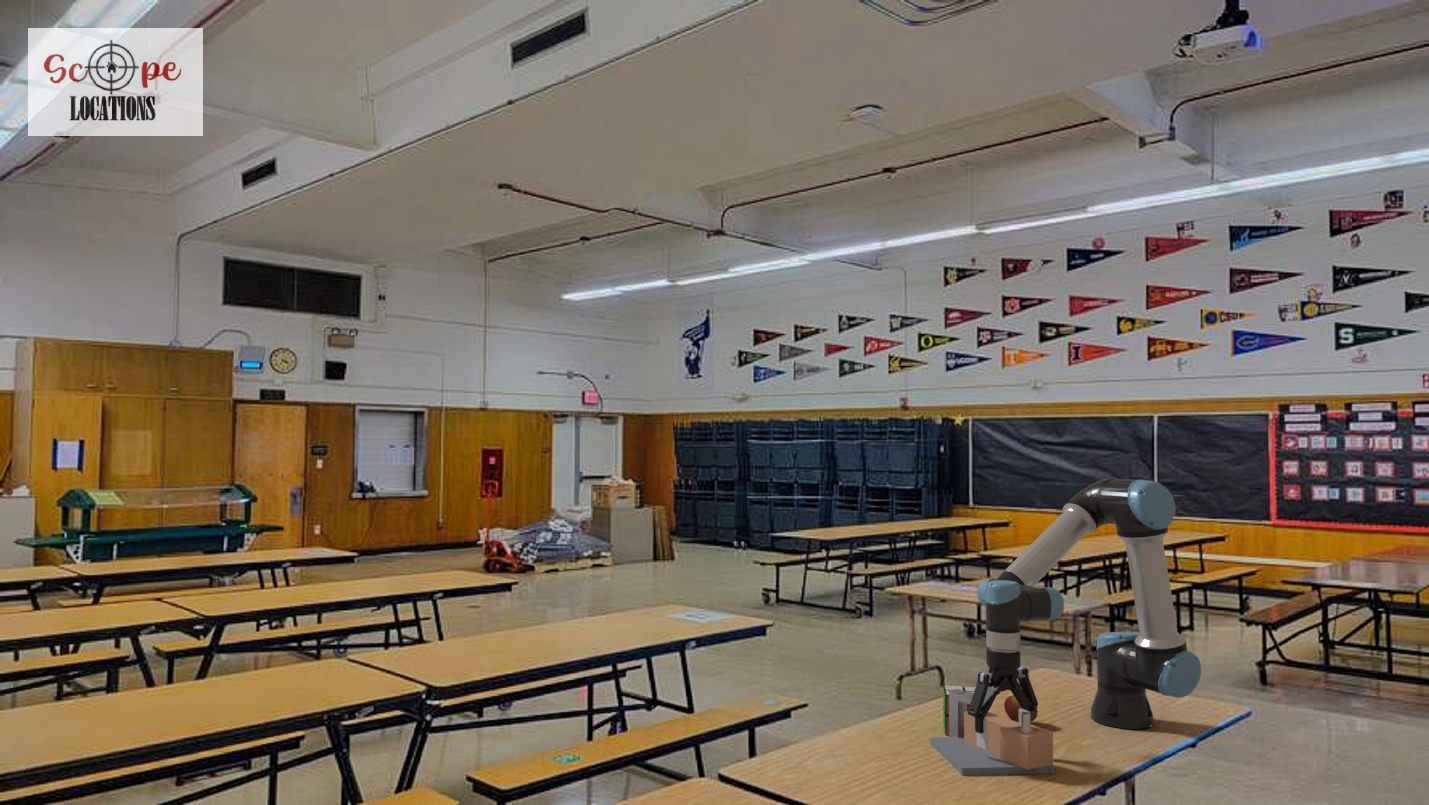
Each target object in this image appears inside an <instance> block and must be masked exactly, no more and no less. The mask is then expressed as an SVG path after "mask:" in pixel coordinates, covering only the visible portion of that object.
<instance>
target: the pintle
mask: <svg viewBox="0 0 1429 805" xmlns="http://www.w3.org/2000/svg"><path fill="white" fill-rule="evenodd" d="M1031 723H1032V721H1031V718H1030V713H1028V712H1021V732H1023V733H1026V734H1028V733H1031V725H1032V724H1031Z"/></svg>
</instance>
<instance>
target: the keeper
mask: <svg viewBox="0 0 1429 805" xmlns="http://www.w3.org/2000/svg"><path fill="white" fill-rule="evenodd" d="M973 694H974V693H971V692H966V691H963V690H960V689H954V690H949V736H948V737H964V712H965V711H967V704H970V703H971V700H972V697H973Z"/></svg>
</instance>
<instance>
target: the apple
mask: <svg viewBox="0 0 1429 805" xmlns="http://www.w3.org/2000/svg"><path fill="white" fill-rule="evenodd" d="M1003 707H1004V710H1005V714H1006V715H1007V717H1008V719H1010V720H1013V721H1016V722H1018V723H1019V709H1023V708H1022V707H1021V706H1020V704H1019V703H1018V701H1017V700H1016V698H1015V696H1014V695H1013V694H1012V695H1010V696H1007V697H1006V698H1005V700H1004V704H1003ZM1037 716H1038V706H1037V707H1035V711H1031V722H1033V721H1035V720H1036V719H1037Z"/></svg>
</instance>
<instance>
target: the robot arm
mask: <svg viewBox="0 0 1429 805" xmlns="http://www.w3.org/2000/svg"><path fill="white" fill-rule="evenodd" d="M1176 510H1177V509H1176V503H1175V499H1174V496H1173V495H1172V493H1171V492H1170V490H1169V489H1168V488H1167V487H1166V486H1164V485H1163V484H1162V483H1161V482H1158V481H1155V480H1154V481H1153V480H1147V479H1134V478H1133V479H1128V478H1127V479H1126V478H1125V479H1124V478H1123V479H1122V478H1121V479H1120V478H1119V479H1118V478H1104V479H1100V480H1098V481H1096V482H1094V483H1091V484H1089V485H1087V487H1084V488H1083V489H1082V490H1080V491H1079V492H1078V493H1076V494H1075V495H1074V496H1073V497H1071V499H1069V501H1067V502H1066V503H1065V504H1064V506H1063V507H1062V513H1061V514H1060V515H1059V516H1058V517H1057V518H1056V519H1055V520H1054V521H1053V522H1052V523H1051V524H1050V525H1049V526H1048V527H1046V529H1045V530H1044V531H1043V532H1042V533H1041V534H1040V535H1039V536H1038V537H1037V538H1036V539H1035V540H1034V541H1033V542H1032V543H1031V544H1030V545H1029V546H1028V547H1027V548H1026V549H1025V550H1023V552H1022V553H1021V554H1020V555H1018V557H1017V558H1016V559H1015V560H1013V561H1012V562H1011V563H1010V565H1008V567H1006V569H1004V570H1003V572H1002V573H1000V574H999V575H998V576H997V577H995V578H994V577H993V578H991V577H990V578H984V579H983V580H982V581H980V583H979V585H978V588H977V590H976V591H977V592H976V594H977V599H978V601H979V603H980V604H981V605H982V606H983V607H985V626H986V627H985V628H986V633H985V634H986V638H985V639H986V641H985V642H986V646H987V648H986V650H985V652H986V654H985V656H986V657H985V659H986V660H985V662H986V665H987V666H988V673H987V672H982V671H979V672H978V673H977V683H976V684H975V687H976V688H975V691H974V694H973V697H972V700H971V703H970V706H969V709H968V715H971V716H974V717H975V731H976V732H977V746H979V747H982V748H984V749H988V719H986V718H985V717H986V715H987V713H988V712H989V711H990V709H991V707H992V705H993V703H994V702H995V700H996V698H997V696H998V695H1000V694H1001V693H1002V692H1006V691H1010V692H1011V694H1012V696H1013V695H1014V696H1015V698H1016V700H1017V701H1018V703H1019V704H1020V706H1021V707H1022V708H1023V709H1019V723H1021V712H1028V713H1030V718H1031V711H1035V707H1037V708H1038V706H1039V701H1038V699H1037V697H1036V693H1035V691H1034V689H1033V686H1032V683H1031V680H1030V678H1029V669H1028V668H1026V667H1023V666H1021V652H1020V650H1019V649H1021V623H1024V622H1039V621H1042V622H1043V621H1045V622H1048V621H1051V620H1056V619H1059V618H1060V617H1061V616H1062V615H1063V613H1064V610H1065V601H1064V600H1065V599H1064V598H1063V597H1064V596H1063V595H1062V594H1061V592H1060V591H1059V590H1058V589H1056V588H1055V587H1046V586H1042V587H1035V586H1036V585H1037V584H1038V582H1039V581H1040V580H1042V578H1044V577H1045V576H1046V574H1047V573H1049V572H1050V571H1051V569H1053V567H1054V566H1055V565H1056V564H1057V563H1058V562H1059V561H1061V560H1062V558H1063V557H1064V556H1066V555H1067V554H1068V552H1069V551H1071V549H1073V547H1074V546H1076V545H1077V543H1078V542H1079V541H1080V540H1081V539H1082V538H1083V537H1085V535H1086V534H1093V533H1094V532H1096V530H1098V528H1099V527H1101V526H1104V525H1115V528H1116V536H1117V537H1118V538H1120V539H1121V540H1122V541H1124V543H1125V551H1126V555H1127V562H1128V567H1129V573H1130V580H1131V588H1132V593H1133V599H1134V604H1135V611H1136V616H1137V617H1136V618H1137V623H1138V630H1139V632H1136V631H1135V632H1134V631H1111V632H1110V631H1109V632H1102V633H1100V634H1098V637H1097V642H1096V643H1097V644H1096V669H1097V671H1096V672H1097V673H1096V675H1097V677H1096V678H1097V688H1096V693H1095V695H1094V697H1093V702H1092V704H1091V707H1090V718H1091V720H1093V721H1094V722H1096V723H1098V724H1100V725H1104V726H1108V727H1113V728H1116V729H1117V728H1118V729H1124V730H1125V729H1126V730H1143V729H1142V728H1146V729H1149V728H1148V727H1150V726H1151V725H1153V723H1154V724H1155V722H1154V720H1155V719H1154V713H1153V711H1152V708H1151V705H1150V703H1149V699H1148V697H1147V690H1148V691H1151V692H1154V693H1157V694H1161V695H1162V696H1166V697H1173V698H1177V699H1181V698H1185V697H1187V696H1189V695H1190V694H1192V693H1193V691H1194V690H1195V689H1196V688H1197V685H1198V684H1199V682H1200V680H1201V674H1202V665H1201V660H1200V658H1199V657H1197V656H1196V654H1194V652H1191V651H1190V650H1188V647H1187V640H1186V638H1185V636H1183V634H1180V633H1179V632H1178V627H1177V620H1176V614H1175V608H1174V602H1173V601H1174V600H1173V596H1172V591H1171V590H1172V589H1171V584H1170V583H1171V582H1170V578H1169V577H1170V576H1169V572H1168V570H1169V569H1168V563H1167V557H1166V553H1165V547H1164V541H1163V540H1164V537H1165V536H1167V534H1168V533H1169V528H1168V527H1169V526H1171V525H1172V523H1173V522H1174V521H1175V520H1174V519H1175V518H1174V517H1175V515H1176ZM974 710H975V711H974ZM981 711H982V712H981ZM980 712H981V713H980ZM1153 726H1154V725H1153ZM1150 728H1151V727H1150Z"/></svg>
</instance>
